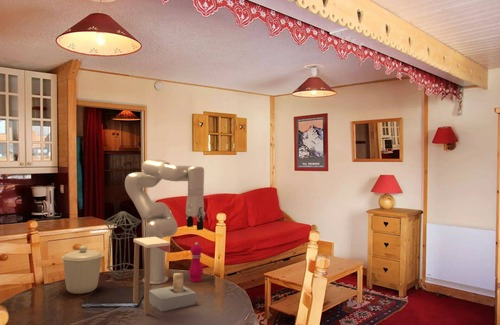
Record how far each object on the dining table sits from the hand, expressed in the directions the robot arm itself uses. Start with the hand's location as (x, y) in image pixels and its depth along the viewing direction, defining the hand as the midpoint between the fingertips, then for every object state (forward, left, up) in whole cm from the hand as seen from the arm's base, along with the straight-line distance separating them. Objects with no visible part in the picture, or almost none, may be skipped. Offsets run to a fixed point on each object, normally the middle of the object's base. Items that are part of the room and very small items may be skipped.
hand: (194, 228), depth 188 cm
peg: (+8, -12, -30) cm, 34 cm away
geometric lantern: (-43, -20, -31) cm, 56 cm away
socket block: (+8, -15, -30) cm, 35 cm away
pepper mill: (-16, +10, -31) cm, 36 cm away
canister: (-30, -43, -31) cm, 61 cm away
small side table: (+8, -25, -30) cm, 40 cm away
